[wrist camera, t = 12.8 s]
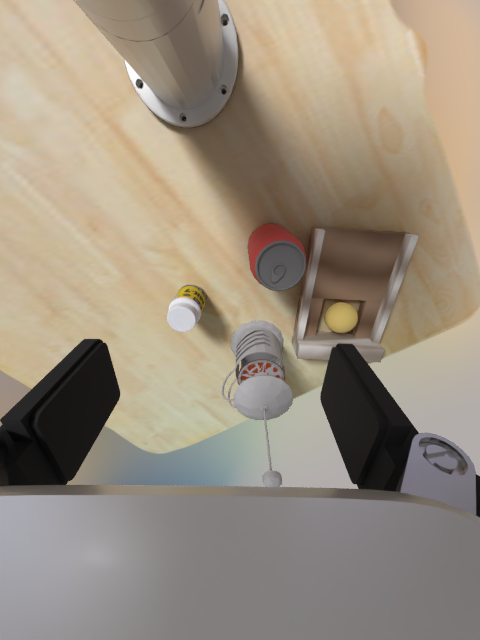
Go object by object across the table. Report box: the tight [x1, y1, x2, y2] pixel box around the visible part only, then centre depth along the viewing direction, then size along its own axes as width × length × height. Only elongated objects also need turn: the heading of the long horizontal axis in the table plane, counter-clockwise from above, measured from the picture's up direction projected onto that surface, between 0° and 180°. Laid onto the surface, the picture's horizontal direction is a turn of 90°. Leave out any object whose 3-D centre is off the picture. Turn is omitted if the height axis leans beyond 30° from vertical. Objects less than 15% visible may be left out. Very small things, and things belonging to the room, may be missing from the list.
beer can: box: [248, 223, 306, 291], centre depth 32 cm, size 7×7×12 cm
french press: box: [222, 321, 293, 487], centre depth 34 cm, size 10×12×25 cm
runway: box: [292, 227, 419, 362], centre depth 38 cm, size 20×14×5 cm
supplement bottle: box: [167, 284, 206, 332], centre depth 37 cm, size 5×5×8 cm
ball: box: [325, 302, 358, 333], centre depth 40 cm, size 5×5×5 cm
